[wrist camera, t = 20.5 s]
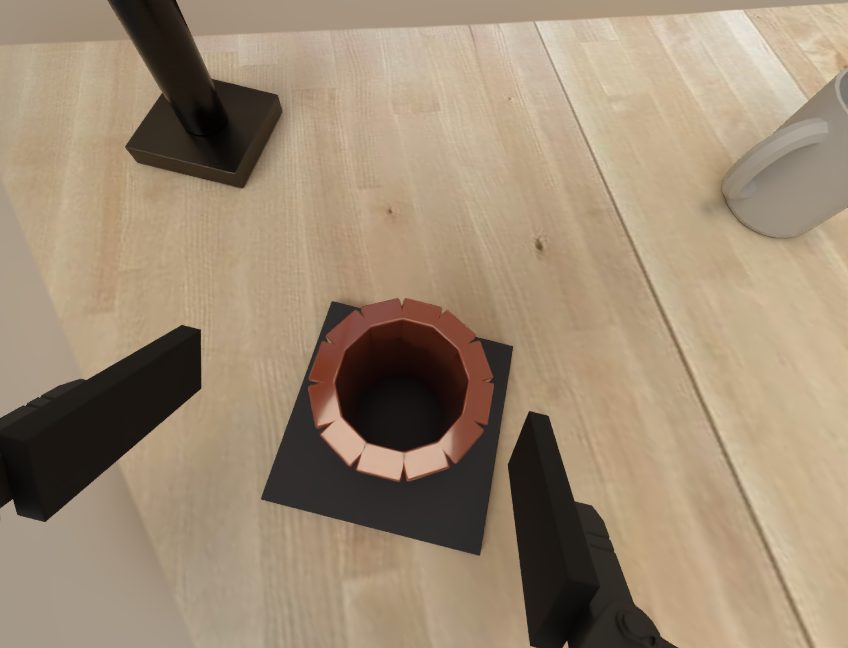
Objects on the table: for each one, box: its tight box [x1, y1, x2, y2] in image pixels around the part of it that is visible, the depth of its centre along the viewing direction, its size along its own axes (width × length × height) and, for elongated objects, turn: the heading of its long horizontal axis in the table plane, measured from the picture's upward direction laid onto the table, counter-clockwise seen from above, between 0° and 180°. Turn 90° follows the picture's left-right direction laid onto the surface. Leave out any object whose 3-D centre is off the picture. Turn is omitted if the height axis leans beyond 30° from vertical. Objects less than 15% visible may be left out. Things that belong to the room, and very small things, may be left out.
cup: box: [722, 68, 848, 238], centre depth 28 cm, size 7×10×9 cm
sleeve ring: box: [308, 298, 494, 482], centre depth 19 cm, size 7×7×9 cm
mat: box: [261, 301, 513, 555], centre depth 23 cm, size 12×12×1 cm
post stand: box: [108, 0, 282, 188], centre depth 24 cm, size 8×8×13 cm
